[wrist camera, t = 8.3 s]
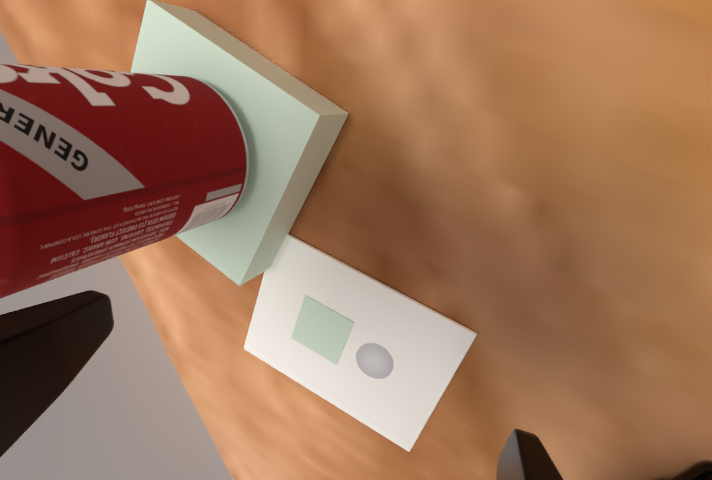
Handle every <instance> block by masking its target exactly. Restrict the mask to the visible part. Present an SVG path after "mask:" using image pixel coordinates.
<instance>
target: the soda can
mask: <svg viewBox="0 0 712 480" xmlns="http://www.w3.org/2000/svg"><path fill="white" fill-rule="evenodd" d="M248 175H249V151H248V145H247V140H246V137H245V133H244V130H243V127H242V125H241V123H240V121H239V119H238V117H237V115H236V113H235V111H234V110H233V108H232V107H231V105H230V104H229V103H228V101H227V100H226V99H225V98H224V97H223V96H222V95H221V94H220V93H219V92H218V91H217V90H216V89H214V88H213V87H212V86H210V85H208V84H207V83H205V82H203V81H201V80H199V79H196V78H193V77H188V76H176V75H162V74H148V73H134V72H119V71H105V70H91V69H77V68H63V67H49V66H35V65H21V64H7V63H0V298H3V297H6V296H8V295H11V294H14V293H17V292H19V291H22V290H25V289H28V288H30V287H33V286H36V285H39V284H42V283H44V282H47V281H50V280H53V279H55V278H58V277H61V276H64V275H66V274H69V273H72V272H75V271H78V270H80V269H83V268H86V267H88V266H91V265H94V264H97V263H99V262H102V261H105V260H108V259H111V258H113V257H116V256H119V255H122V254H125V253H127V252H130V251H133V250H136V249H138V248H141V247H144V246H147V245H150V244H152V243H155V242H158V241H161V240H163V239H166V238H169V237H172V236H174V235H177V234H180V233H183V232H186V231H188V230H191V229H194V228H197V227H199V226H202V225H205V224H208V223H210V222H213V221H216V220H218V219H221V218H223V217H224V216H226V215H227V214H229V213H230V212H231V211H232V210H233V209H234V208H235V207H236V205H237V204H238V203H239V201H240V199H241V198H242V196H243V193H244V191H245V188H246V185H247V181H248Z"/></svg>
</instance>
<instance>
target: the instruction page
mask: <svg viewBox="0 0 712 480" xmlns="http://www.w3.org/2000/svg"><path fill="white" fill-rule="evenodd" d="M476 335H477V333H476V332H474V331H472V330H471V329H469V328H467V327H465V326H463V325H461V324H459V323H457V322H455V321H453V320H452V319H450V318H448V317H446V316H444V315H442V314H440V313H438V312H436V311H434V310H433V309H431V308H429V307H427V306H425V305H423V304H421V303H419V302H417V301H415V300H414V299H412V298H410V297H408V296H406V295H404V294H402V293H400V292H398V291H396V290H394V289H393V288H391V287H389V286H387V285H385V284H383V283H381V282H379V281H377V280H375V279H374V278H372V277H370V276H368V275H366V274H364V273H362V272H360V271H358V270H356V269H355V268H353V267H351V266H349V265H347V264H345V263H343V262H341V261H339V260H337V259H336V258H334V257H332V256H330V255H328V254H326V253H324V252H322V251H320V250H318V249H316V248H315V247H313V246H311V245H309V244H307V243H305V242H303V241H301V240H299V239H297V238H296V237H294V236H292V235H290V234H287V235H286V237H285V239H284V241H283V243H282V245H281V247H280V249H279V251H278V253H277V255H276V257H275V259H274V261H273V263H272V265H271V267H270V268H269V269H267V270H266V271H265V272H264V276H263V279H262V283H261V287H260V290H259V294H258V298H257V301H256V305H255V309H254V312H253V316H252V320H251V323H250V327H249V331H248V334H247V338H246V342H245V345H244V349H245V350H246V351H248V352H250V353H251V354H253V355H254V356H256V357H258V358H259V359H261V360H262V361H264V362H266V363H267V364H269V365H270V366H272V367H274V368H275V369H277V370H278V371H280V372H282V373H283V374H285V375H286V376H288V377H290V378H291V379H293V380H294V381H296V382H298V383H299V384H301V385H303V386H304V387H306V388H307V389H309V390H311V391H312V392H314V393H315V394H317V395H319V396H320V397H322V398H323V399H325V400H327V401H328V402H330V403H331V404H333V405H335V406H336V407H338V408H339V409H341V410H343V411H344V412H346V413H347V414H349V415H351V416H352V417H354V418H355V419H357V420H359V421H360V422H362V423H363V424H365V425H367V426H368V427H370V428H371V429H373V430H375V431H376V432H378V433H379V434H381V435H383V436H384V437H386V438H388V439H389V440H391V441H392V442H394V443H396V444H397V445H399V446H400V447H402V448H404V449H405V450H407V451H408V452H410V450H411V448H412V447H413V445H414V443H415V441H416V440H417V438H418V436H419V434H420V433H421V431H422V429H423V427H424V426H425V424H426V422H427V420H428V419H429V417H430V415H431V413H432V412H433V410H434V408H435V407H436V405H437V403H438V401H439V400H440V398H441V396H442V394H443V393H444V391H445V389H446V387H447V386H448V384H449V382H450V380H451V379H452V377H453V375H454V374H455V372H456V370H457V368H458V367H459V365H460V363H461V361H462V360H463V358H464V356H465V354H466V353H467V351H468V349H469V347H470V346H471V344H472V342H473V340H474V339H475V337H476Z"/></svg>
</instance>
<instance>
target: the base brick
mask: <svg viewBox="0 0 712 480" xmlns="http://www.w3.org/2000/svg"><path fill="white" fill-rule="evenodd" d="M131 72H134V73H148V74H162V75H176V76H188V77H193V78H196V79H199V80H201V81H203V82H205V83H207V84H208V85H210V86H212V87H213V88H214V89H216V90H217V91H218V92H219V93H220V94H221V95H222V96H223V97H224V98H225V99H226V100H227V101H228V103H229V104H230V105H231V107H232V108H233V110H234V111H235V113H236V115H237V117H238V119H239V121H240V123H241V125H242V127H243V130H244V133H245V137H246V140H247V145H248V151H249V175H248V181H247V185H246V188H245V191H244V193H243V196H242V198H241V199H240V201H239V203H238V204H237V205H236V207H235V208H234V209H233V210H232V211H231V212H230V213H229V214H227V215H226V216H224V217H223V218H221V219H218V220H216V221H213V222H210V223H208V224H205V225H202V226H199V227H197V228H194V229H191V230H188V231H186V232H183V233H180V234H177V235H176V236H177V237H178V238H179V239H181V240H182V241H183V242H184V243H186V244H187V245H188V246H189V247H191V248H192V249H193V250H194V251H196V252H197V253H198V254H199V255H201V256H202V257H203V258H205V259H206V260H207V261H208V262H210V263H211V264H212V265H213V266H215V267H216V268H217V269H218V270H220V271H221V272H222V273H223V274H225V275H226V276H227V277H228V278H230V279H231V280H232V281H234V282H235V283H236V284H237V285H239V286H241V285H243V284H244V283H246V282H248V281H249V280H251V279H252V278H254V277H256V276H257V275H259V274H261V273H262V272H264V271H266V270H267V269H269V268H270V267H271V265H272V263H273V261H274V259H275V257H276V255H277V253H278V251H279V249H280V247H281V245H282V243H283V241H284V239H285V237H286V235H287V234H289V232H290V230H291V228H292V226H293V224H294V222H295V220H296V218H297V216H298V214H299V212H300V210H301V208H302V206H303V204H304V202H305V200H306V198H307V196H308V194H309V192H310V190H311V188H312V186H313V184H314V182H315V180H316V178H317V176H318V174H319V172H320V170H321V168H322V166H323V164H324V162H325V160H326V158H327V156H328V154H329V152H330V150H331V148H332V146H333V144H334V142H335V140H336V138H337V136H338V134H339V132H340V130H341V128H342V126H343V124H344V122H345V120H346V118H347V116H348V115H349V113H348V112H346V111H345V110H343V109H342V108H340V107H339V106H337V105H336V104H334V103H333V102H331V101H330V100H328V99H327V98H325V97H324V96H322V95H321V94H319V93H318V92H316V91H315V90H313V89H312V88H310V87H309V86H307V85H306V84H304V83H303V82H301V81H300V80H298V79H297V78H295V77H294V76H292V75H291V74H289V73H288V72H286V71H285V70H283V69H282V68H280V67H279V66H277V65H276V64H274V63H273V62H271V61H270V60H268V59H267V58H265V57H264V56H262V55H261V54H259V53H258V52H256V51H255V50H253V49H252V48H250V47H249V46H247V45H246V44H244V43H243V42H241V41H240V40H238V39H237V38H235V37H234V36H232V35H231V34H229V33H228V32H226V31H225V30H223V29H222V28H220V27H219V26H217V25H216V24H214V23H213V22H211V21H210V20H208V19H207V18H205V17H204V16H202V15H201V14H199V13H198V12H196V11H194V10H190V9H186V8H182V7H179V6H175V5H171V4H167V3H163V2H159V1H155V0H147V3H146V7H145V12H144V16H143V20H142V25H141V29H140V33H139V38H138V42H137V46H136V51H135V55H134V60H133V64H132V68H131Z"/></svg>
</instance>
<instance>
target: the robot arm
mask: <svg viewBox="0 0 712 480" xmlns="http://www.w3.org/2000/svg"><path fill="white" fill-rule="evenodd" d="M113 325H114V320H113V313H112V306H111V300H110V298H109V296H108V295H106V294H103V293H100V292H97V291H92V290H91V291H90V290H89V291H85V292H82V293H78V294H74V295H71V296H67V297H63V298H60V299H57V300H53V301H49V302H46V303H42V304H38V305H34V306H31V307H27V308H24V309H20V310H17V311H13V312H9V313H6V314H2V315H0V457H1V456H2V455H3V454H4V453H5V452H6V451H7V450H8V449H9V448H10V447H11V446H12V445H13V444H14V443H15V442H16V441H17V440H18V439H19V437H20V436H22V434H23V433H24V432H25V431H26V430H27V429H28V428H29V427H30V426H31V425H32V424H33V423H34V422H35V421H36V420H37V419H38V418H39V417H40V416H41V415H42V413H44V412H45V410H46V409H47V408H48V407H49V406H50V405H51V404H52V403H53V402H54V401H55V400H56V399H57V398H58V397H59V396H60V395H61V394H62V392H63V391H64V390H65V389H66V388H67V387H68V385H69V384H70V383H71V382H72V381H73V380H74V378H75V377H76V376H77V374H78V373H79V372H80V371H81V370H82V368H83V367H84V366H85V364H86V363H87V362H88V361H89V360H90V358H91V357H92V356H93V355H94V353H95V352H96V351H97V349H98V348H99V347H100V346H101V345H102V343H103V342H104V341H105V340H106V338H107V337H108V336H109V335H110V333H111V331H112V329H113ZM708 476H712V464H703V465H700V466H698V467H697V468H695V469H693V470H692V471H690V472H689V473H687V474H685V475H684V476H682V477H681V478H679V479H677V480H712V478H708ZM496 480H563V478H562V476H561V475H560V473H559V471H558V470H557V468H556V466H555V465H554V463H553V461H552V460H551V458H550V456H549V454H548V453H547V451H546V449H545V448H544V446H543V444H542V443H541V441H540V439H539V438H538V437H537V436H536V435H535V434H532V433H529V432H526V431H523V430H520V429H514V430H513V431H512V433H511V434H510V436H509V438H508V440H507V442H506V444H505V446H504V448H503V450H502V452H501V454H500V456H499V460H498V466H497V479H496Z"/></svg>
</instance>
